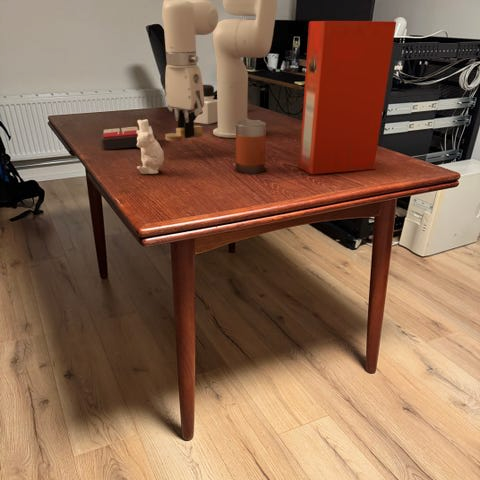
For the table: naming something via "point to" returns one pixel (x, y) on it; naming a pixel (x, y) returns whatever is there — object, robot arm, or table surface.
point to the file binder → (344, 94)
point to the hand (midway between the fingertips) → (186, 135)
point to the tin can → (250, 146)
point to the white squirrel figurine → (148, 149)
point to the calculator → (121, 137)
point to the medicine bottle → (208, 107)
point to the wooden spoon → (183, 134)
